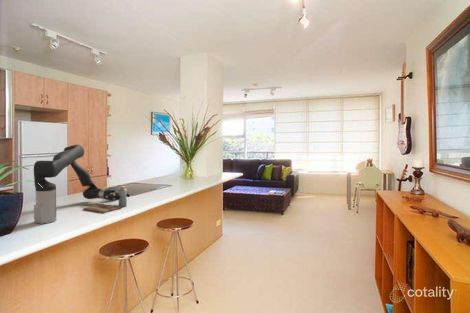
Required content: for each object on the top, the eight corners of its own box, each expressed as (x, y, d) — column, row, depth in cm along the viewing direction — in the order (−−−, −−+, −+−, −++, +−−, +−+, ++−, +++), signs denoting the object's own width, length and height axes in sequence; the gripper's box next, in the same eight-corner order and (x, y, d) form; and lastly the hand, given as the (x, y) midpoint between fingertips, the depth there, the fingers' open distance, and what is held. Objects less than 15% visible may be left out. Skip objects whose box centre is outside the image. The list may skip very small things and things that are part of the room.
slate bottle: (122, 207, 186) (122, 187, 185) (117, 206, 188) (116, 186, 187) (128, 206, 190) (128, 186, 190) (122, 205, 192) (122, 185, 192)
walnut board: (103, 213, 170) (103, 211, 170) (83, 210, 177) (83, 208, 177) (121, 208, 183) (121, 206, 183) (101, 205, 190) (101, 203, 190)
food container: (115, 201, 205) (115, 187, 204) (108, 200, 206) (108, 187, 205) (125, 198, 217) (125, 185, 216) (118, 197, 218) (118, 185, 217)
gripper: (98, 190, 188) (116, 192, 181) (115, 187, 201) (132, 189, 194) (98, 201, 188) (116, 204, 182) (115, 197, 201) (132, 200, 195)
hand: (124, 196), depth 188 cm, fingers open, 8 cm apart
